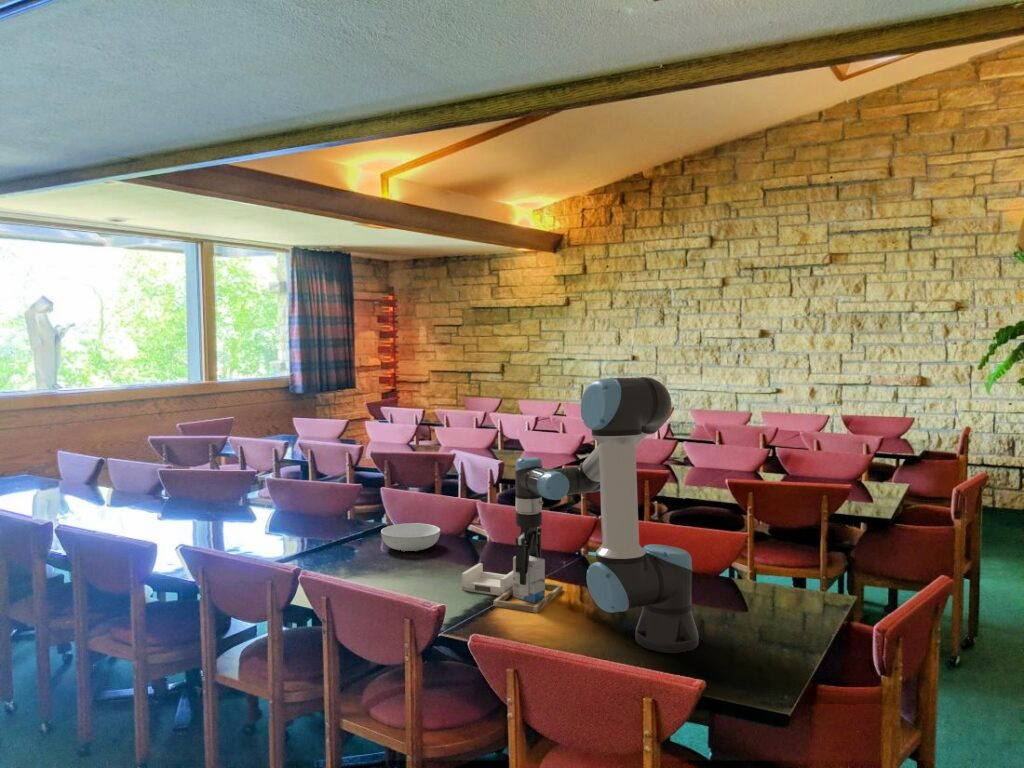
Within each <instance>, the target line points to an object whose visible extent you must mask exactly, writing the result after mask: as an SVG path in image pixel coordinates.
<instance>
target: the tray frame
mask: <svg viewBox="0 0 1024 768" xmlns="http://www.w3.org/2000/svg"><path fill="white" fill-rule="evenodd" d="M545 590H547V591H548V590H549V591H550V592H549V593H548V594H547V595H545V597H544V598H543V599H542V600H541V601H538V602H536V604H535V605H531V604H527V603H519V602H514V601H513V602H512V601H508V599H510V597H511V596H513V587H512V588H510V589H509V590H508V591H506V592H505V593H503V594H502V595H501V596H497V597H496V598H495V599H494V600H493V601H492V602H493V603H492V604H493V607H498V608H503V609H511V610H517V611H522V612H531V613H536V614H537V613H538V612H539V611H540V610H542V609H543V608H544V607H545V606H547V604H549V603H550V602H551V601H552V600H554V598H556V597H557V596H558V595H559V594H561V592H563V590H564V589H563V585H562V584H555V583H554V584H553V583H547V582H545Z"/></svg>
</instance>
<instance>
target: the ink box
mask: <svg viewBox="0 0 1024 768" xmlns="http://www.w3.org/2000/svg"><path fill="white" fill-rule="evenodd" d="M545 567H546V560H545V558H538V557H534V556H530V555H529V564H528V573H529V596H523V595H519V573H518V572H516V571H515V569H516V555H514V556H513V558H512V571H513V595H512V597H513V598H516V599H519V600H523V601H525V602H529V603H532V604H535V603H536V604H537V603H538V602H540V601H541V600H542V599H543V598H544V597H546V594H545V591H546V589H545V583H546V574H545V572H546V570H545V569H546V568H545Z"/></svg>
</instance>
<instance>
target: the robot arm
mask: <svg viewBox="0 0 1024 768" xmlns="http://www.w3.org/2000/svg"><path fill="white" fill-rule="evenodd" d="M580 400H581V401H580V416H581V419H582V420H583V424H584V426H585V427H586V428H588V429H590V430H591V437H592V438H593V439H594V440H595V441H596V442H597V443H598V445H597V446H596V447H595V448H594V449H593V450H592V451H591V453H590V454H589V455H588V456H587V457H586V458H585V460H583V462H582V463H581V464H580V465H578V466H570V467H559V468H552V469H551V468H549V469H548V468H545V467H543V461H542V459H541V457H538V456H522V457H519V458H517V459H516V461H515V470H514V474H515V475H514V476H515V482H514V483H515V484H514V485H515V511H516V513H515V525H516V526H517V527H519V528H520V533H519V537H518V536H517V537H515V556H516V569H515V571H516V572H518V573H519V595H523V596H529V573H528V564H529V555H530V556H534V557H538V558H542V557H543V556H542V555H543V554H542V528H541V526H542V524H543V513H542V512H541V511H542V510H543V509H542V508H543V505H544V501H543V498H545V499H547V500H554V501H558V500H562V499H563V498H564V497H565V496H570V495H571V496H572V495H578V494H579V495H580V494H588V493H590V494H591V493H597V492H600V495H599V496H600V519H601V521H600V522H601V524H600V525H601V543H602V544H601V545H600V546H599V547H598V548H597V550H596V551H595V562H593V563H591V564H590V565H589V566H588V569H586V578H585V579H586V585H587V589H588V591H589V595H590V596H591V598H592V600H593V601H594V603H595V604H596V605H597V606H598V607H599V608H600V609H601V610H602V611H604V612H607V613H618V612H622V613H623V612H626V611H628V610H632V609H637V608H641V607H642V609H641V613H640V616H639V619H638V621H637V624H636V627H635V638H634V639H635V642H636V643H637V644H638V645H639V646H640V647H643V648H645V649H647V650H650V651H654V652H657V653H663V654H665V653H666V654H681V652H683V653H687V652H686V651H688V652H690V651H693V650H695V649H697V647H699V637H700V636H699V632H698V629H697V628H698V627H697V624H696V623H695V622H696V621H695V619H694V615H693V612H692V602H693V601H692V594H693V593H692V587H693V570H694V569H693V566H692V565H693V564H692V563H693V562H692V561H693V560H692V556H691V554H690V553H689V552H688V551H687V550H685V549H683V548H680V547H677V546H671V545H666V544H656V543H655V544H654V543H652V544H645V545H644V546H643V547H642V546H641V545H640V533H639V531H640V530H639V510H638V509H639V505H638V502H639V501H638V481H637V480H638V477H637V476H638V475H637V450H636V449H637V448H636V447H637V446H638V445H640V443H641V442H642V441H643V440H644V439H645V438H647V436H648V435H654V434H655V433H657V432H658V431H659V430H660V429H661V428H662V427H663V426H664V424H665V423H666V422H667V420H668V418H669V416H670V414H671V411H672V398H671V395H670V393H669V390H668V389H667V388H666V386H665V385H664V384H662V382H660V381H658V380H657V379H655V378H652V377H647V376H641V377H608V378H601V379H596V380H594V381H592V382H591V383H589V385H588V386H587V388H585V390H584V392H583V394H582V397H581V399H580ZM542 559H543V558H542Z"/></svg>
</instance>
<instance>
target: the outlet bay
mask: <svg viewBox="0 0 1024 768" xmlns="http://www.w3.org/2000/svg"><path fill="white" fill-rule="evenodd" d="M483 564H484V563H481V562H479V563H477V564H475V565H473V566H472V567H470V568H469V569H467V570H465V571H464V572H462V573H461V591H465V592H473V593H479V594H485V595H490V596H491V595H493V596H497V597H499V596H501V595H502V594H503V593H505V592H506V591H508V590H509V589H510V588H512V587H513V570H511V571H509V572H508V573H507V574H504V573H503V574H502V573H496V572H488V571H483V570H484V569H483V567H484V565H483Z"/></svg>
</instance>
